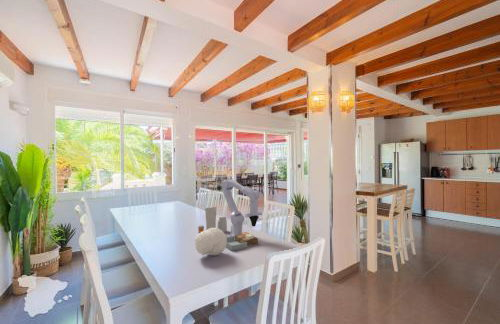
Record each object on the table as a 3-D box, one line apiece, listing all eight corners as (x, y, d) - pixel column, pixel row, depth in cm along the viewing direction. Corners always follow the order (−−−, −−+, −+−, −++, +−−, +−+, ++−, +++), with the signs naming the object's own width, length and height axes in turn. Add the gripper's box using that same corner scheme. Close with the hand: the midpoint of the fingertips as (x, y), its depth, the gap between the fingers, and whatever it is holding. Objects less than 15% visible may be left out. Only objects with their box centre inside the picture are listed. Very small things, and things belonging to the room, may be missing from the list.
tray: (220, 244, 163) (220, 238, 163) (234, 240, 170) (234, 235, 170) (232, 251, 150) (232, 245, 150) (247, 247, 157) (247, 242, 157)
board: (234, 240, 170) (234, 235, 170) (246, 238, 176) (246, 233, 176) (246, 246, 158) (246, 240, 158) (257, 243, 164) (257, 238, 164)
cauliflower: (214, 248, 156) (214, 223, 156) (233, 255, 145) (233, 228, 145) (188, 257, 140) (189, 229, 140) (208, 266, 129) (208, 236, 129)
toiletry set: (223, 229, 198) (223, 205, 198) (228, 231, 192) (228, 206, 192) (195, 235, 182) (196, 208, 182) (200, 237, 176) (200, 210, 176)
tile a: (240, 235, 169) (240, 232, 169) (246, 234, 172) (246, 231, 172) (244, 237, 166) (244, 234, 166) (249, 236, 168) (249, 233, 168)
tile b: (245, 237, 165) (245, 234, 165) (250, 236, 168) (250, 233, 168) (248, 239, 161) (248, 236, 161) (254, 238, 164) (254, 235, 164)
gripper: (249, 209, 166) (248, 228, 166) (265, 207, 174) (264, 225, 174) (243, 207, 171) (243, 226, 172) (259, 205, 180) (258, 223, 180)
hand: (253, 226), depth 173 cm, fingers closed
